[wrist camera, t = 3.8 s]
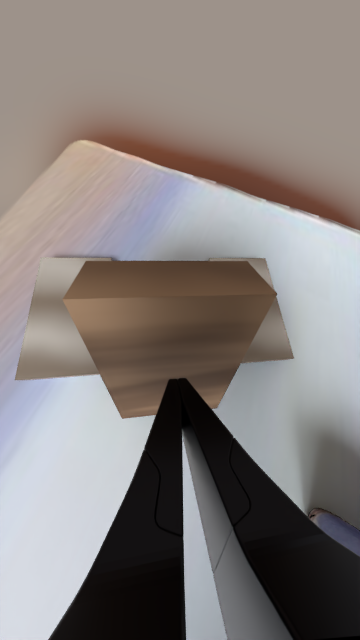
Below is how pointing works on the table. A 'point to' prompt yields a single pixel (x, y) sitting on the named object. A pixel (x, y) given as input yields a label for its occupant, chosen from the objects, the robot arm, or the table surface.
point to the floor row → (68, 347)
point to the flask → (337, 529)
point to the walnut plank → (167, 325)
